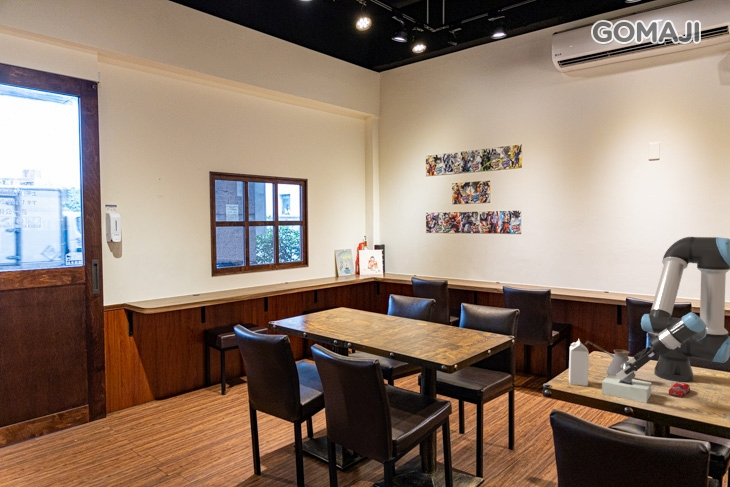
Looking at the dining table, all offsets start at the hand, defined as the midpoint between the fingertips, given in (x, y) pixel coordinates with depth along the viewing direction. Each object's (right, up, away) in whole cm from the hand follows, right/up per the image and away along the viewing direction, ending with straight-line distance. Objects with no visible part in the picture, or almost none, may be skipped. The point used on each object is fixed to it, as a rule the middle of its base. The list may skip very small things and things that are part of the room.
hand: (620, 372), depth 197 cm
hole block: (+2, -9, -1) cm, 9 cm away
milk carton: (-12, -8, +12) cm, 19 cm away
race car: (+25, -9, +1) cm, 27 cm away
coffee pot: (+6, -8, +21) cm, 23 cm away
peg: (+2, -9, -1) cm, 9 cm away
